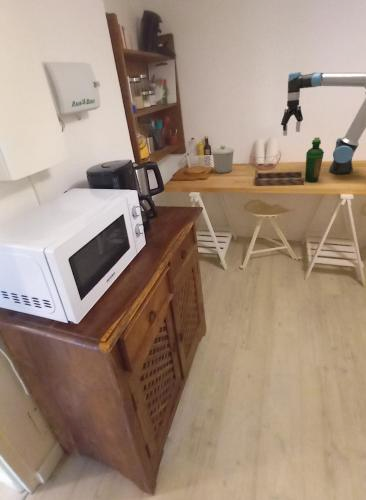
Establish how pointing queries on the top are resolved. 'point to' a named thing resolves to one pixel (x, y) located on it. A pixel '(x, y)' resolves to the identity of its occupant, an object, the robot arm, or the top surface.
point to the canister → (223, 159)
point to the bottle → (313, 161)
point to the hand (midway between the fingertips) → (291, 133)
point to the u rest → (278, 178)
